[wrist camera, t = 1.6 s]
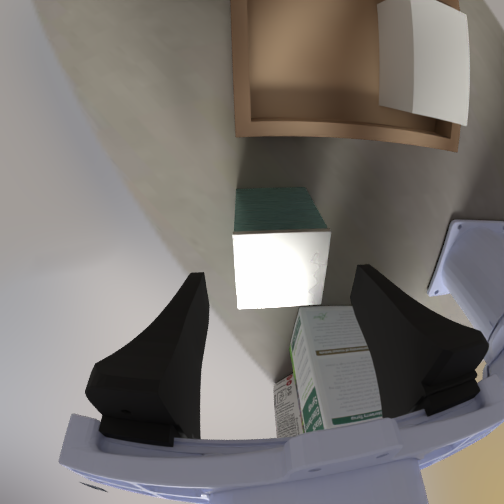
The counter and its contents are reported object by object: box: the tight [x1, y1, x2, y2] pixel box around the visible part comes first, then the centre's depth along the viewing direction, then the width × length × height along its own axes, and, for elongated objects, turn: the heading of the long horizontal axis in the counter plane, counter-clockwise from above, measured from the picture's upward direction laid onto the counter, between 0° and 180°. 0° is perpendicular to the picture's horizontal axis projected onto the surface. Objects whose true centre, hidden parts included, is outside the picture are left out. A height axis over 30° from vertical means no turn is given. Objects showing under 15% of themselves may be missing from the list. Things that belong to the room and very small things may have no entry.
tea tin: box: [233, 187, 331, 309], centre depth 17 cm, size 4×4×6 cm
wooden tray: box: [230, 0, 461, 152], centre depth 12 cm, size 14×11×2 cm
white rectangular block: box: [377, 0, 470, 126], centre depth 11 cm, size 4×7×4 cm, turn 2°
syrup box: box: [289, 306, 382, 433], centre depth 19 cm, size 6×6×14 cm
